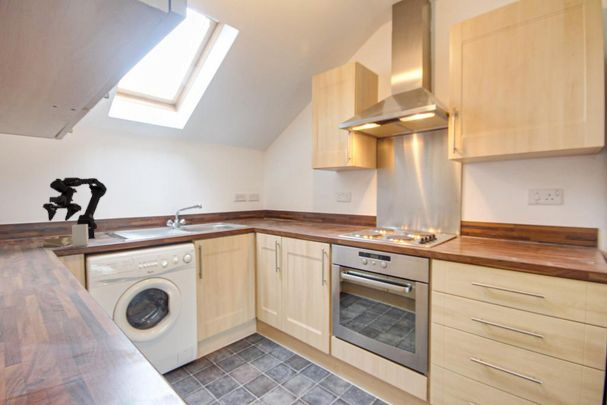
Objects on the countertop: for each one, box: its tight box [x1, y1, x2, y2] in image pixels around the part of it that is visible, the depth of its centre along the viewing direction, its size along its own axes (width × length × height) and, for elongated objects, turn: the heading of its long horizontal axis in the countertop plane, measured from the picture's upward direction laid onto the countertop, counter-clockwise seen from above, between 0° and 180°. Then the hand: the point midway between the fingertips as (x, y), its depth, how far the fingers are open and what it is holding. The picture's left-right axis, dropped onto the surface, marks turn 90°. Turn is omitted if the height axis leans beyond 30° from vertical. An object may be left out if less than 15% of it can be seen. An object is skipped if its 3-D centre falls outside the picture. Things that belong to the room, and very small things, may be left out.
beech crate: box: [42, 235, 73, 248], centre depth 171 cm, size 11×11×4 cm
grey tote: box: [71, 224, 90, 248], centre depth 167 cm, size 6×6×12 cm
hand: (57, 220), depth 168 cm, fingers open, 9 cm apart
